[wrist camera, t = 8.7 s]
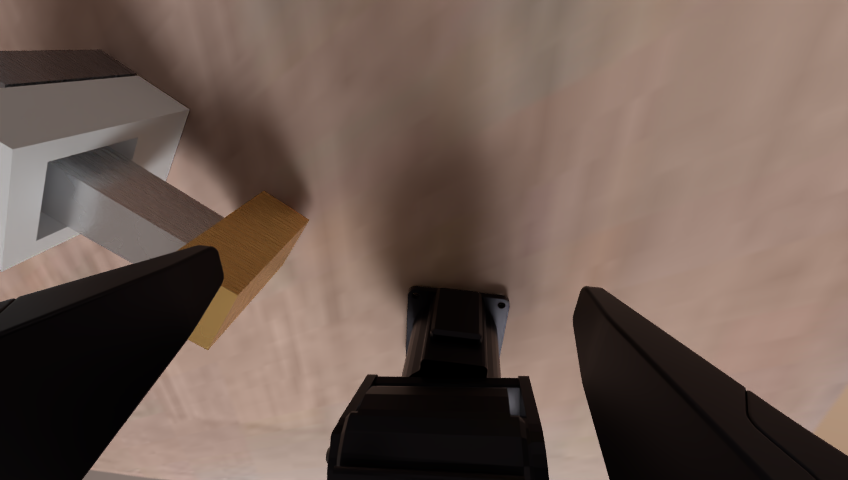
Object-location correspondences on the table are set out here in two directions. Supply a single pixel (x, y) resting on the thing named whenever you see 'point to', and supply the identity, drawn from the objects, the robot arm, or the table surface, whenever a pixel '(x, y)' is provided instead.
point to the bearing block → (74, 146)
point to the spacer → (57, 67)
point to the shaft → (171, 226)
